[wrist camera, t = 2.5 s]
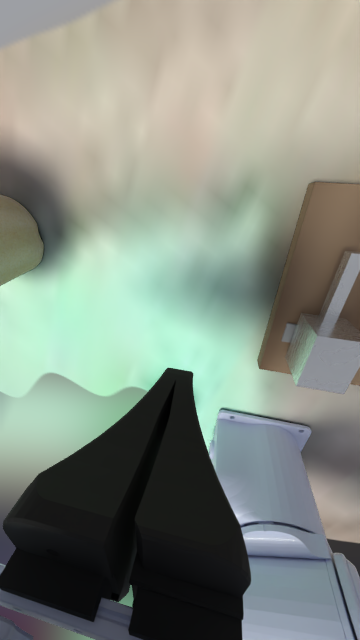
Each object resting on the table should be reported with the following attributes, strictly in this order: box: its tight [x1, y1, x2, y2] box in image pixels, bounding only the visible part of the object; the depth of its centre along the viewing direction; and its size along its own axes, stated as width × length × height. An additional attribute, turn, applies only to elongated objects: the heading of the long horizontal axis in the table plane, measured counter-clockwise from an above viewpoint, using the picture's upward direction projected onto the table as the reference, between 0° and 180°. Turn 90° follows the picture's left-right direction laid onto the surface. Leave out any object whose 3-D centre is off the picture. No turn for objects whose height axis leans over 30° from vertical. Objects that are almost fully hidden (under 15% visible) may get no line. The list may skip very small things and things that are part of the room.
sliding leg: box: [285, 251, 360, 394], centre depth 14 cm, size 3×8×3 cm, turn 176°
